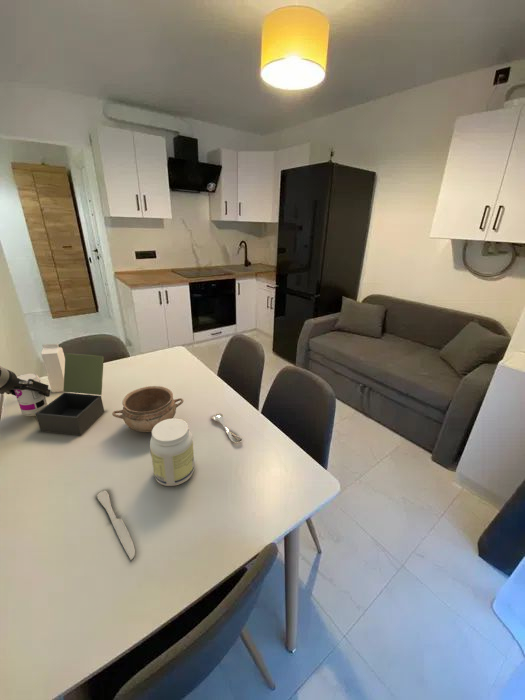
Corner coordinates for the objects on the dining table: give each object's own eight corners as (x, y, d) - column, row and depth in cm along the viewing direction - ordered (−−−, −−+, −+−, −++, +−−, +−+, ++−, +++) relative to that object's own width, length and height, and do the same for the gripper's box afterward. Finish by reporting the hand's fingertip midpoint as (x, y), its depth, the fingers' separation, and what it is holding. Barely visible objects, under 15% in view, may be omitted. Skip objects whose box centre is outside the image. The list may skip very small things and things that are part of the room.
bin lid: (102, 356, 114) (103, 356, 114) (65, 353, 115) (66, 353, 115) (100, 395, 114) (101, 394, 115) (63, 391, 115) (64, 391, 116)
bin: (81, 435, 104) (76, 417, 101) (40, 431, 105) (35, 413, 102) (104, 411, 118) (101, 395, 115) (68, 408, 119) (64, 392, 116)
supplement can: (25, 419, 109) (13, 385, 103) (20, 410, 114) (8, 377, 108) (50, 411, 114) (41, 377, 108) (45, 402, 119) (35, 370, 113)
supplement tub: (195, 456, 98) (192, 414, 91) (193, 486, 87) (190, 441, 80) (157, 459, 96) (152, 417, 89) (151, 490, 85) (144, 445, 78)
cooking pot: (116, 450, 99) (110, 420, 94) (115, 418, 114) (110, 391, 109) (189, 432, 109) (187, 404, 104) (180, 405, 124) (178, 380, 119)
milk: (57, 385, 134) (45, 341, 125) (72, 384, 136) (60, 340, 127) (51, 392, 129) (38, 346, 120) (67, 391, 130) (55, 346, 121)
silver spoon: (245, 434, 103) (234, 439, 100) (246, 442, 104) (234, 447, 102) (219, 409, 118) (208, 413, 116) (219, 416, 119) (209, 420, 117)
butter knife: (106, 488, 84) (95, 494, 82) (139, 553, 68) (126, 562, 66) (107, 489, 84) (96, 495, 82) (139, 554, 68) (126, 563, 66)
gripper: (-45, 391, 91) (4, 404, 112) (31, 388, 94) (64, 402, 115) (-38, 368, 93) (8, 385, 114) (35, 366, 97) (67, 383, 118)
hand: (36, 394), depth 115 cm, fingers closed on supplement can, 8 cm apart
